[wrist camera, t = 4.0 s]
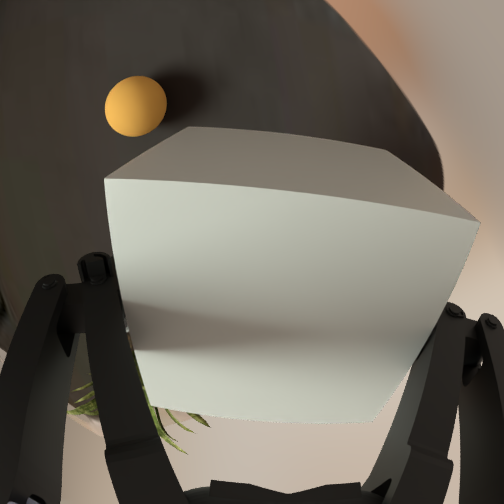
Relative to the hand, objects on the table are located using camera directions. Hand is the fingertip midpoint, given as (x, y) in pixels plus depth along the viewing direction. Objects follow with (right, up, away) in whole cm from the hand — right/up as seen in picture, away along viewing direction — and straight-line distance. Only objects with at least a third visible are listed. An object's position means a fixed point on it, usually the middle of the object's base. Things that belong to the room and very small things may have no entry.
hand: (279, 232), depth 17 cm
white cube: (0, 0, +1) cm, 1 cm away
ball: (-11, +10, +5) cm, 16 cm away
